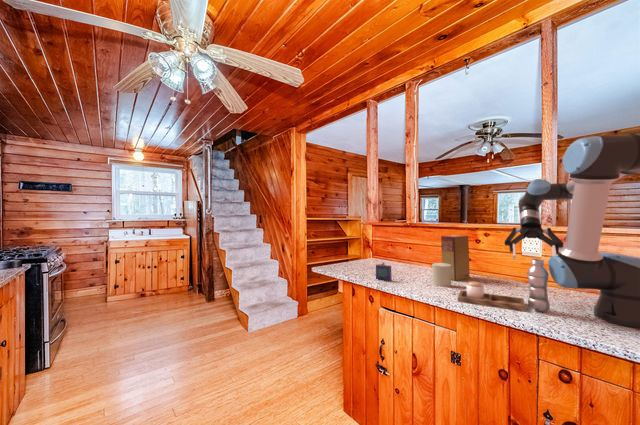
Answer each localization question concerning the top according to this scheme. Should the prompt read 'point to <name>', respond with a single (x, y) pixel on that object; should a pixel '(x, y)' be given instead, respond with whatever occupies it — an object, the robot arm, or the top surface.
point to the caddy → (495, 301)
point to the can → (441, 274)
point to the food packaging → (456, 255)
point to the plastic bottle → (538, 286)
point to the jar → (475, 290)
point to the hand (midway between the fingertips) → (534, 258)
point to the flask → (383, 272)
